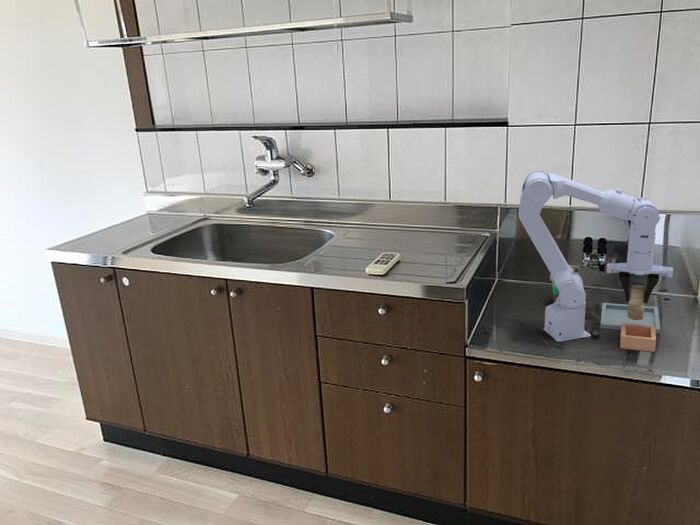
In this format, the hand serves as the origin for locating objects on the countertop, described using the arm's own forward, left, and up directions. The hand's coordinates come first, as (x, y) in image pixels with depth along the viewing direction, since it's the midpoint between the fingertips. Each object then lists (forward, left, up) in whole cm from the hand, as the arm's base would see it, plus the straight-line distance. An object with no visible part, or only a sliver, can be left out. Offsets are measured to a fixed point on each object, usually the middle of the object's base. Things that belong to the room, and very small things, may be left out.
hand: (636, 301), depth 148 cm
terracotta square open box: (-2, -4, -10) cm, 11 cm away
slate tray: (+4, +8, -10) cm, 13 cm away
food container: (-6, +26, -10) cm, 28 cm away
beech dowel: (0, 0, -4) cm, 4 cm away
